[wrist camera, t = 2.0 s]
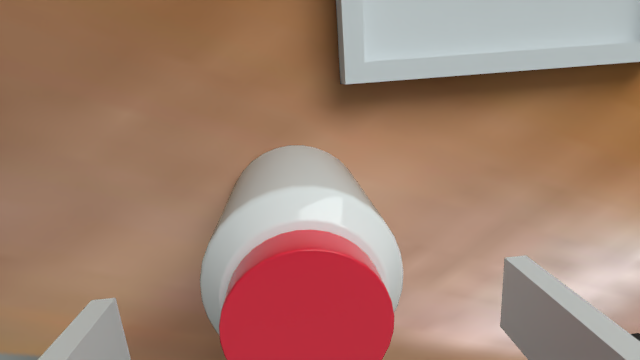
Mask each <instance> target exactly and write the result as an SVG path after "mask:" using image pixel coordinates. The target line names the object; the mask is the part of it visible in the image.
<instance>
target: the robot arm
mask: <svg viewBox="0 0 640 360" xmlns="http://www.w3.org/2000/svg"><path fill="white" fill-rule="evenodd" d="M500 327H501V328H502V329H503V330H504V331H505V333H506V334H507V335H508V336H509V337H510V338H511V340H512V341H513V342H514V343H515V344H516V346H517V347H518V348H519V349H520V350H521V352H522V353H523V354H524V355H525V356H526V357H527V359H528V360H640V334H639V333H636V334H629V333H628V332H627V331H625V330H624V329H623V328H621V327H620V326H619V325H617V324H616V323H615V322H613V321H612V320H611V319H609V318H608V317H607V316H606V315H604V314H603V313H602V312H600V311H599V310H598V309H596V308H595V307H594V306H592V305H591V304H590V303H588V302H587V301H586V300H584V299H583V298H582V297H580V296H579V295H578V294H576V293H575V292H574V291H572V290H571V289H570V288H568V287H567V286H566V285H564V284H563V283H562V282H560V281H559V280H558V279H557V278H555V277H554V276H553V275H551V274H550V273H549V272H547V271H546V270H545V269H543V268H542V267H541V266H539V265H538V264H537V263H535V262H534V261H533V260H531V259H530V258H529V257H527V256H516V257H507V258H505V259H504V275H503V291H502V306H501V322H500ZM38 360H131V359H130V354H129V350H128V346H127V342H126V338H125V334H124V330H123V326H122V322H121V318H120V314H119V310H118V306H117V302H116V298H109V299H99V300H91V301H90V303H89V304H88V305H87V306H86V307H85V308H84V309H83V310H82V311H81V312H80V314H79V315H78V316H77V317H76V318H75V319H74V320H73V321H72V322H71V324H70V325H69V326H68V327H67V328H66V329H65V330H64V331H63V332H62V334H61V335H60V336H59V337H58V338H57V339H56V340H55V341H54V342H53V344H52V345H51V346H50V347H49V348H48V349H47V350H46V351H45V352H44V354H43V355H42V356H41V357H40V358H39V359H38Z"/></svg>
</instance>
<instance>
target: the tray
mask: <svg viewBox="0 0 640 360" xmlns="http://www.w3.org/2000/svg"><path fill="white" fill-rule="evenodd" d="M336 12H337V30H338V48H339V66H340V84H357V83H370V82H383V81H396V80H409V79H422V78H435V77H448V76H461V75H474V74H487V73H500V72H513V71H526V70H539V69H552V68H564V67H577V66H590V65H603V64H616V63H629V62H640V0H336Z"/></svg>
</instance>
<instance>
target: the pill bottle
mask: <svg viewBox="0 0 640 360" xmlns="http://www.w3.org/2000/svg"><path fill="white" fill-rule="evenodd" d="M402 286H403V265H402V258H401V252H400V250H399V247H398V244H397V242H396V239H395V237H394V235H393V233H392V232H391V230H390V229H389V227H388V226H387V224H386V223H385V221H384V220H383V218H382V217H381V215H380V214H379V212H378V211H377V209H376V208H375V207H374V205H373V204H372V202H371V201H370V199H369V198H368V196H367V195H366V194H365V192H364V191H363V189H362V188H361V186H360V185H359V183H358V182H357V181H356V179H355V178H354V176H353V175H352V173H351V172H350V171H349V169H348V168H347V167H346V166H345V165H344V164H343V163H342V162H341V161H340V160H339V159H337V158H336V157H334V156H333V155H331V154H330V153H328V152H326V151H323V150H320V149H318V148H315V147H309V146H304V145H290V146H284V147H280V148H275V149H273V150H271V151H268V152H266V153H264V154H262V155H261V156H259V157H258V158H256V159H255V160H253V161H252V162H251V163H250V164H249V165H248V166H247V167H246V168H245V169H244V170H243V172H242V173H241V175H240V177H239V178H238V180H237V181H236V183H235V186H234V188H233V190H232V192H231V194H230V197H229V199H228V201H227V203H226V205H225V208H224V210H223V212H222V214H221V217H220V219H219V221H218V223H217V225H216V228H215V230H214V232H213V234H212V236H211V239H210V241H209V244H208V246H207V249H206V252H205V255H204V257H203V260H202V266H201V274H200V287H201V297H202V302H203V305H204V308H205V311H206V314H207V317H208V319H209V320H210V322H211V324H212V325H213V327H214V329H215V330H216V332H217V333H218V334H219V335H220V343H221V346H222V349H223V352H224V355H225V357H226V359H227V360H382V359H383V357H384V355H385V353H386V351H387V349H388V347H389V345H390V342H391V338H392V334H393V329H394V312H395V310H396V308H397V306H398V303H399V299H400V296H401V292H402Z"/></svg>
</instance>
